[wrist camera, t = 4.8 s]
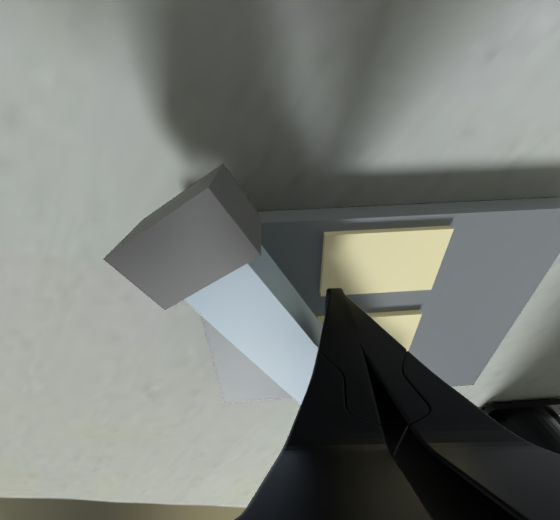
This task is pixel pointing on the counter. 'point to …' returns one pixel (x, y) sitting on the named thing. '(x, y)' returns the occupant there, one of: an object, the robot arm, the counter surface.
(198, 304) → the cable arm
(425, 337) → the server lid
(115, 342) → the counter surface
